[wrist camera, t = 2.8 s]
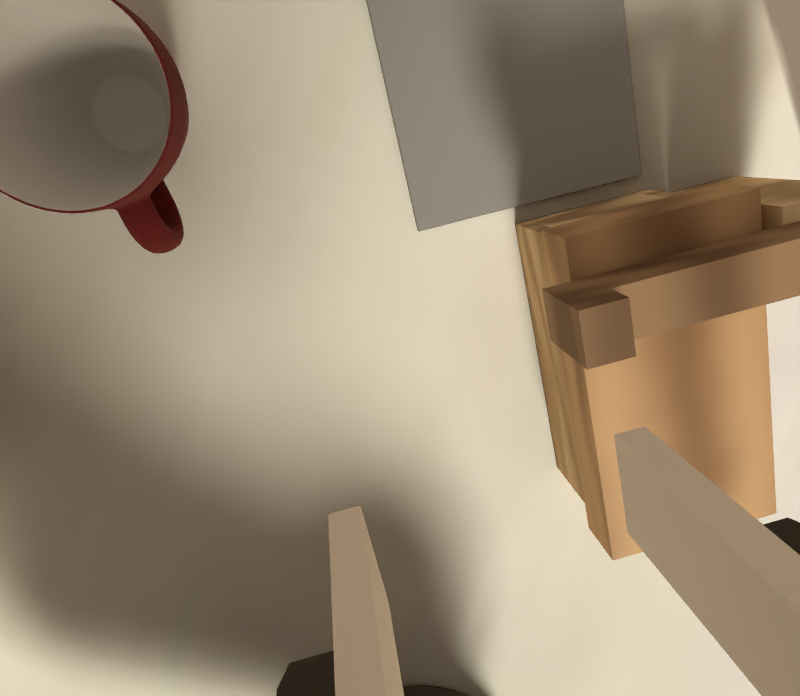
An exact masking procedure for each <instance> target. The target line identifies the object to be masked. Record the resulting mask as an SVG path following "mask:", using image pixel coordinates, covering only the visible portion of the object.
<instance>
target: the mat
mask: <svg viewBox="0 0 800 696" xmlns="http://www.w3.org/2000/svg"><path fill="white" fill-rule="evenodd" d="M366 1H367V5H368V10H369V14H370V19H371V23H372V28H373V32H374V37H375V41H376V46H377V50H378V55H379V59H380V64H381V68H382V73H383V77H384V82H385V86H386V91H387V95H388V100H389V104H390V108H391V113H392V117H393V122H394V126H395V131H396V135H397V140H398V144H399V149H400V153H401V158H402V162H403V167H404V171H405V176H406V180H407V185H408V189H409V194H410V198H411V203H412V207H413V212H414V216H415V220H416V225H417V229H418V231H422V230H426V229H430V228H434V227H438V226H442V225H446V224H450V223H454V222H457V221H461V220H465V219H469V218H473V217H477V216H481V215H485V214H489V213H493V212H497V211H500V210H504V209H508V208H512V207H516V206H520V205H524V204H528V203H532V202H536V201H540V200H543V199H547V198H551V197H555V196H559V195H563V194H567V193H571V192H575V191H579V190H583V189H586V188H590V187H594V186H598V185H602V184H606V183H610V182H614V181H618V180H622V179H626V178H629V177H633V176H637V175H641V174H642V172H641V163H640V154H639V144H638V135H637V126H636V116H635V107H634V98H633V88H632V79H631V70H630V60H629V51H628V42H627V32H626V23H625V14H624V4H623V0H366Z"/></svg>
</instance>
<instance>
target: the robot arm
mask: <svg viewBox="0 0 800 696" xmlns="http://www.w3.org/2000/svg"><path fill="white" fill-rule="evenodd" d="M614 439H615V446H616V453H617V460H618V468H619V475H620V482H621V489H622V497H623V504H624V511H625V518H626V525H627V532H628V534H629V535H630V536H631V537H632V539H633V540H634V541H635V542H636V543H637V545H638V546H639V547H640V548H641V549H642V551H643V552H644V553H645V554H646V556H647V557H648V558H649V559H650V560H651V562H652V563H653V564H654V565H655V566H656V568H657V569H658V570H659V571H660V573H661V574H662V575H663V576H664V577H665V579H666V580H667V581H668V582H669V583H670V585H671V586H672V587H673V588H674V590H675V591H676V592H677V593H678V594H679V596H680V597H681V598H682V599H683V601H684V602H685V603H686V604H687V605H688V607H689V608H690V609H691V610H692V611H693V613H694V614H695V615H696V616H697V618H698V619H699V620H700V621H701V622H702V624H703V625H704V626H705V627H706V628H707V630H708V631H709V632H710V633H711V635H712V636H713V637H714V638H715V639H716V641H717V642H718V643H719V644H720V645H721V647H722V648H723V649H724V650H725V652H726V653H727V654H728V655H729V656H730V658H731V659H732V660H733V661H734V663H735V664H736V665H737V666H738V667H739V669H740V670H741V671H742V672H743V673H744V675H745V676H746V677H747V678H748V680H749V681H750V682H751V683H752V684H753V686H754V687H755V688H756V689H757V690H758V692H759V693H760V694H761V695H762V696H800V523H799V522H797V521H794V520H792V519H790V518H785V519H781V520H778V521H774V522H771V523H767V524H764V525H763V524H762V523H761V522H759V521H758V520H757V519H756V518H754V517H753V516H752V515H751V514H750V513H748V512H747V511H746V510H745V509H744V508H742V507H741V506H740V505H739V504H738V503H736V502H735V501H734V500H733V499H732V498H730V497H729V496H728V495H727V494H726V493H724V492H723V491H722V490H721V489H720V488H718V487H717V486H716V485H715V484H714V483H712V482H711V481H710V480H709V479H708V478H706V477H705V476H704V475H703V474H702V473H700V472H699V471H698V470H697V469H696V468H694V467H693V466H692V465H691V464H690V463H688V462H687V461H686V460H685V459H684V458H682V457H681V456H680V455H679V454H678V453H676V452H675V451H674V450H673V449H672V448H670V447H669V446H668V445H667V444H666V443H664V442H663V441H662V440H661V439H660V438H658V437H657V436H656V435H655V434H654V433H652V432H651V431H650V430H649V429H648V428H646V427H645V426H644V427H640V428H637V429H633V430H629V431H626V432H622V433H619V434H615V435H614ZM328 527H329V551H330V576H331V601H332V625H333V650H334V651H331V652H327V653H324V654H320V655H317V656H313V657H310V658H306V659H303V660H299V661H296V662H292V663H289V665H288V668H287V670H286V672H285V674H284V676H283V678H282V680H281V682H280V684H279V686H278V688H277V696H465V695H463V694H460V693H458V692H454V691H451V690H447V689H442V688H436V687H405V688H403V686H402V680H401V674H400V668H399V662H398V656H397V650H396V644H395V638H394V632H393V626H392V620H391V614H390V608H389V602H388V598H387V594H386V591H385V588H384V584H383V581H382V577H381V574H380V570H379V567H378V564H377V560H376V557H375V553H374V550H373V547H372V543H371V540H370V536H369V533H368V529H367V526H366V523H365V519H364V516H363V512H362V509H361V506H360V505H359V506H355V507H352V508H348V509H345V510H341V511H337V512H334V513H330V514H328Z"/></svg>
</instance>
